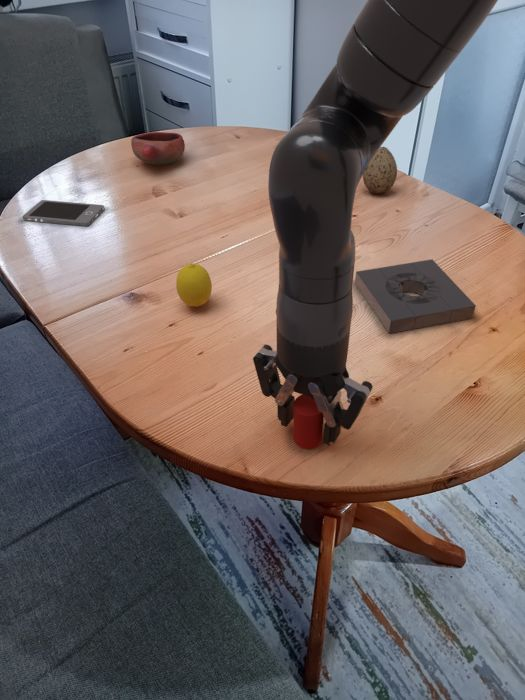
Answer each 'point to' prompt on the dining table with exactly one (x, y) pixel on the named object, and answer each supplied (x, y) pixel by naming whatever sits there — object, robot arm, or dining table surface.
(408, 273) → the grey square base
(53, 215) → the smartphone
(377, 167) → the decorative egg
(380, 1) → the robot arm
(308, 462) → the dining table surface
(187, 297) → the lemon
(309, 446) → the stopper
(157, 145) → the bowl
